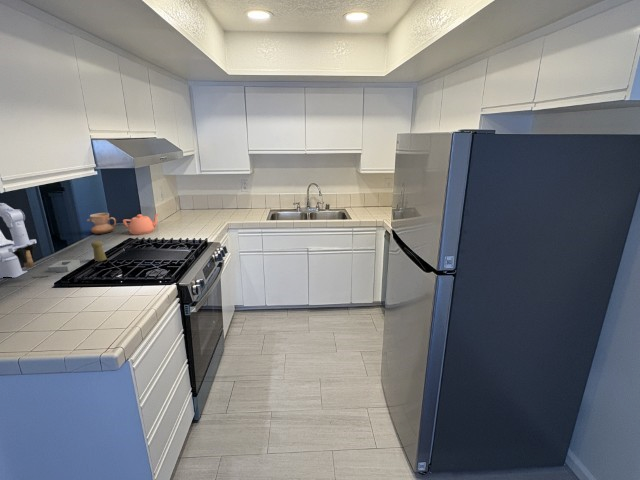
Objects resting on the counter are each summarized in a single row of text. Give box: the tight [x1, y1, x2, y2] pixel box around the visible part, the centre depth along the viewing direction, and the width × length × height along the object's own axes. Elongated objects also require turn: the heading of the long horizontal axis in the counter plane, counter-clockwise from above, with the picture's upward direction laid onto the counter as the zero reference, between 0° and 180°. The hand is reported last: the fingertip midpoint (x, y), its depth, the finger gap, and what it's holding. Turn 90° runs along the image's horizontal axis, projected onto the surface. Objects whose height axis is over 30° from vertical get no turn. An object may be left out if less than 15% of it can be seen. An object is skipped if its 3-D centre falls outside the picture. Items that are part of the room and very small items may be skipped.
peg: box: [23, 250, 35, 269], centre depth 165 cm, size 4×4×8 cm
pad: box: [32, 270, 58, 279], centre depth 173 cm, size 8×8×1 cm
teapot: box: [122, 213, 160, 236], centre depth 246 cm, size 25×17×13 cm
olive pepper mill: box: [91, 240, 108, 262], centre depth 191 cm, size 6×6×11 cm
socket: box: [47, 259, 81, 273], centre depth 180 cm, size 10×10×3 cm
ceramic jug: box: [86, 212, 117, 235], centre depth 249 cm, size 18×14×14 cm
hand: (27, 261), depth 165 cm, fingers closed on peg, 4 cm apart
